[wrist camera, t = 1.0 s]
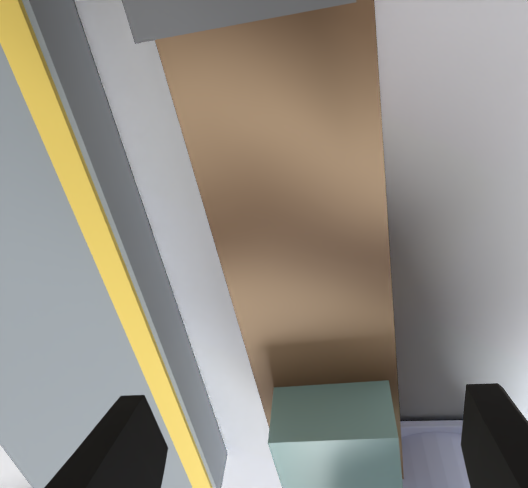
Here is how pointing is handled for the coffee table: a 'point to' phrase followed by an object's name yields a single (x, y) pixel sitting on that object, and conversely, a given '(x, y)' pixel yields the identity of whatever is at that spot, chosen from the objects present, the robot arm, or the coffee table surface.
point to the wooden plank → (295, 190)
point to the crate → (207, 14)
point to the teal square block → (335, 436)
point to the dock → (82, 267)
